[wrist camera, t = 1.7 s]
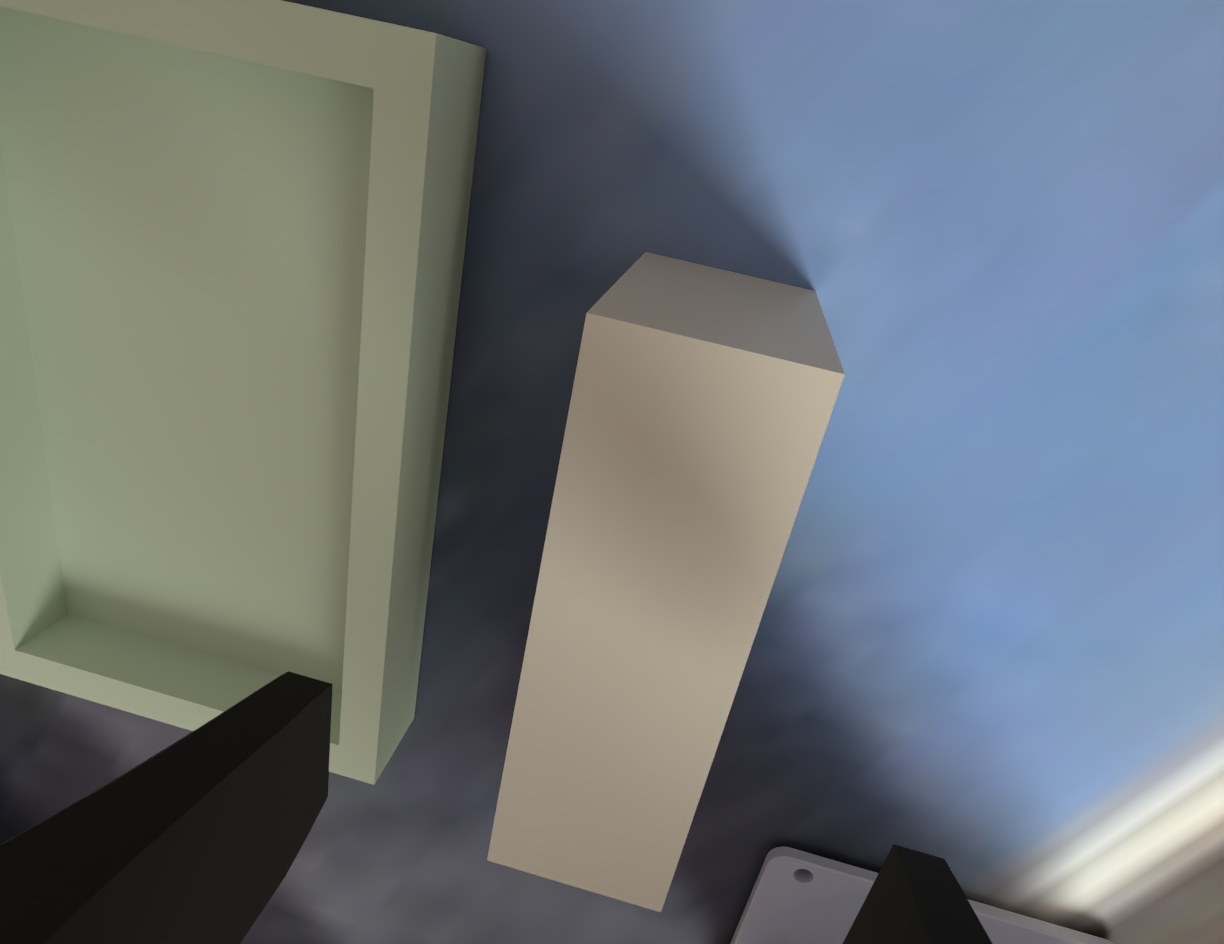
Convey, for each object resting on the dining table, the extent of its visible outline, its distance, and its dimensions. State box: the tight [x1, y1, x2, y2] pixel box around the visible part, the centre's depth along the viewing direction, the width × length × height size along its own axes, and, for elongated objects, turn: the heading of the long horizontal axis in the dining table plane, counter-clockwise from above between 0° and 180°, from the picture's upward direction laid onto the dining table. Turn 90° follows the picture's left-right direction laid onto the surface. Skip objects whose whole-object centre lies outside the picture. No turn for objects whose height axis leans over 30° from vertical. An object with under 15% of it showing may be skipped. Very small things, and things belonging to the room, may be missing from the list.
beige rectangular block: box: [487, 252, 845, 912], centre depth 15 cm, size 4×11×6 cm, turn 169°
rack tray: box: [0, 0, 487, 785], centre depth 18 cm, size 11×17×2 cm, turn 169°
